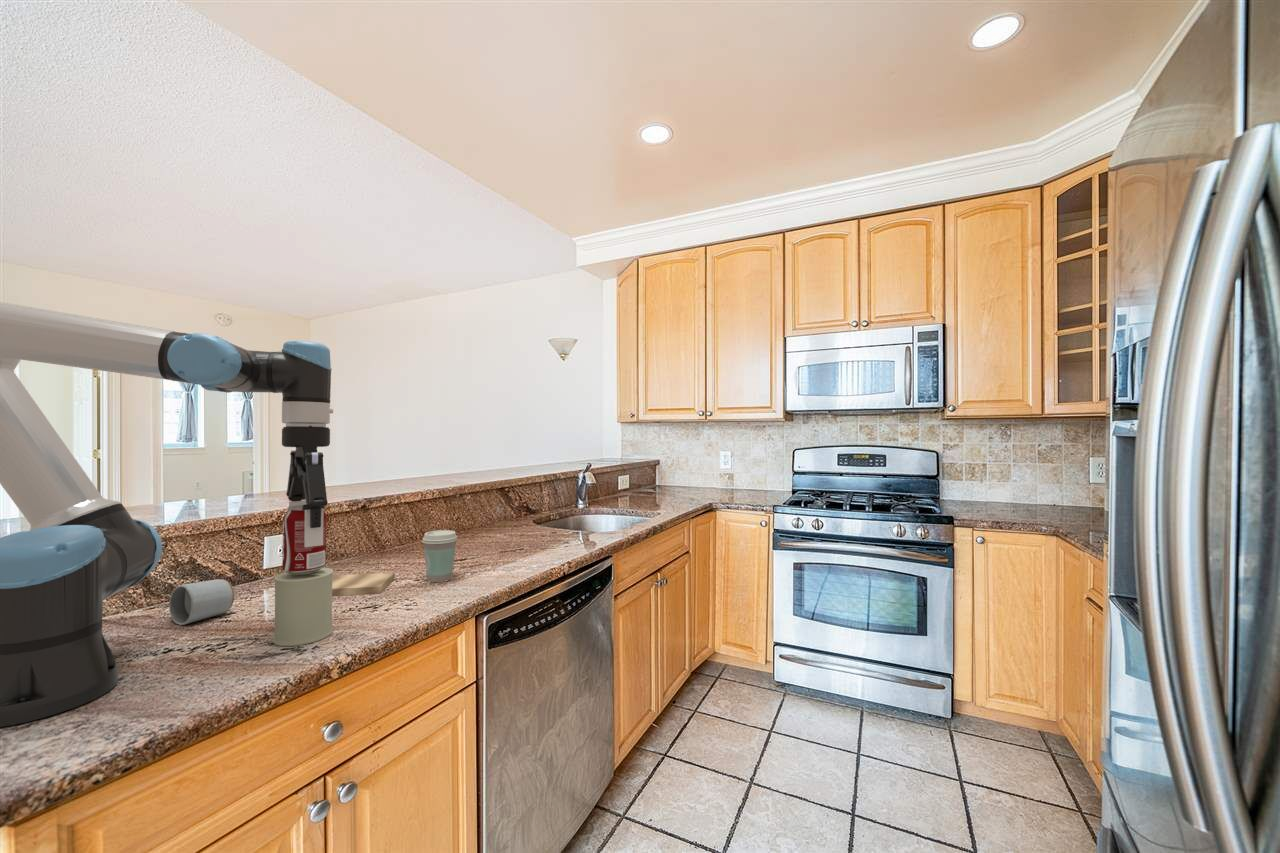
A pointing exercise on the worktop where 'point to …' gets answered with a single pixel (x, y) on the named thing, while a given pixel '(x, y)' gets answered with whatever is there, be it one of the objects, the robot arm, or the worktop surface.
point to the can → (303, 607)
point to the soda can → (300, 545)
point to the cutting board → (360, 583)
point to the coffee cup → (439, 554)
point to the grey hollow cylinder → (200, 600)
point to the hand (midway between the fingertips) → (305, 540)
